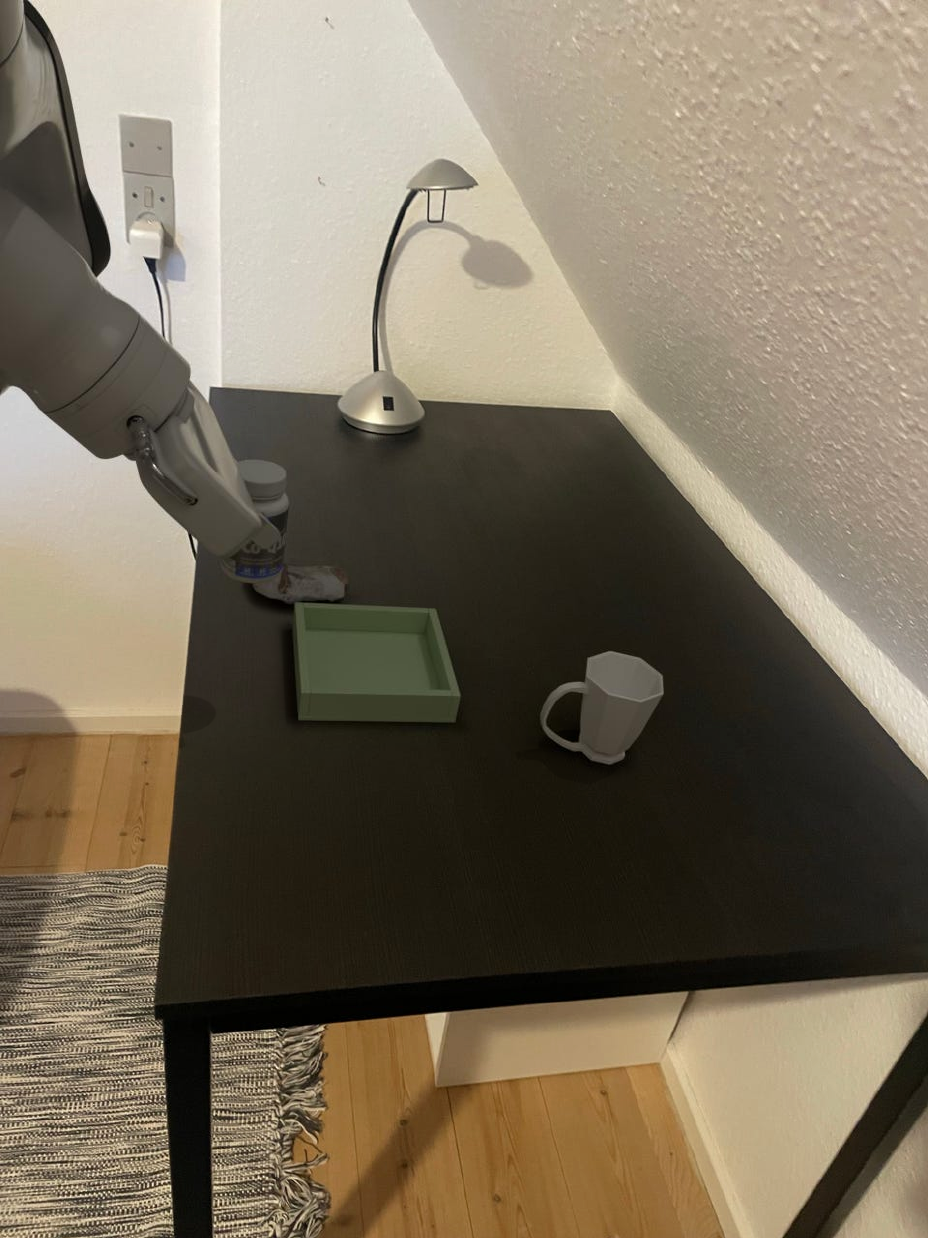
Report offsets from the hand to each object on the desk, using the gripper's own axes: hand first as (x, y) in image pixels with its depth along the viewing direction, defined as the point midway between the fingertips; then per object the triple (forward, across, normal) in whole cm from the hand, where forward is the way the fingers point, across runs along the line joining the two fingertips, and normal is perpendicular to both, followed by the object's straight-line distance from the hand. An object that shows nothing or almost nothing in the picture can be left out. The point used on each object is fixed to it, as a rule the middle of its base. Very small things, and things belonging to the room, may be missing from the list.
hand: (262, 518), depth 71 cm
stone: (+18, +16, +7) cm, 25 cm away
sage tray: (+20, +2, +4) cm, 21 cm away
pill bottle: (+3, 0, +4) cm, 5 cm away
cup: (+31, -12, -7) cm, 34 cm away
